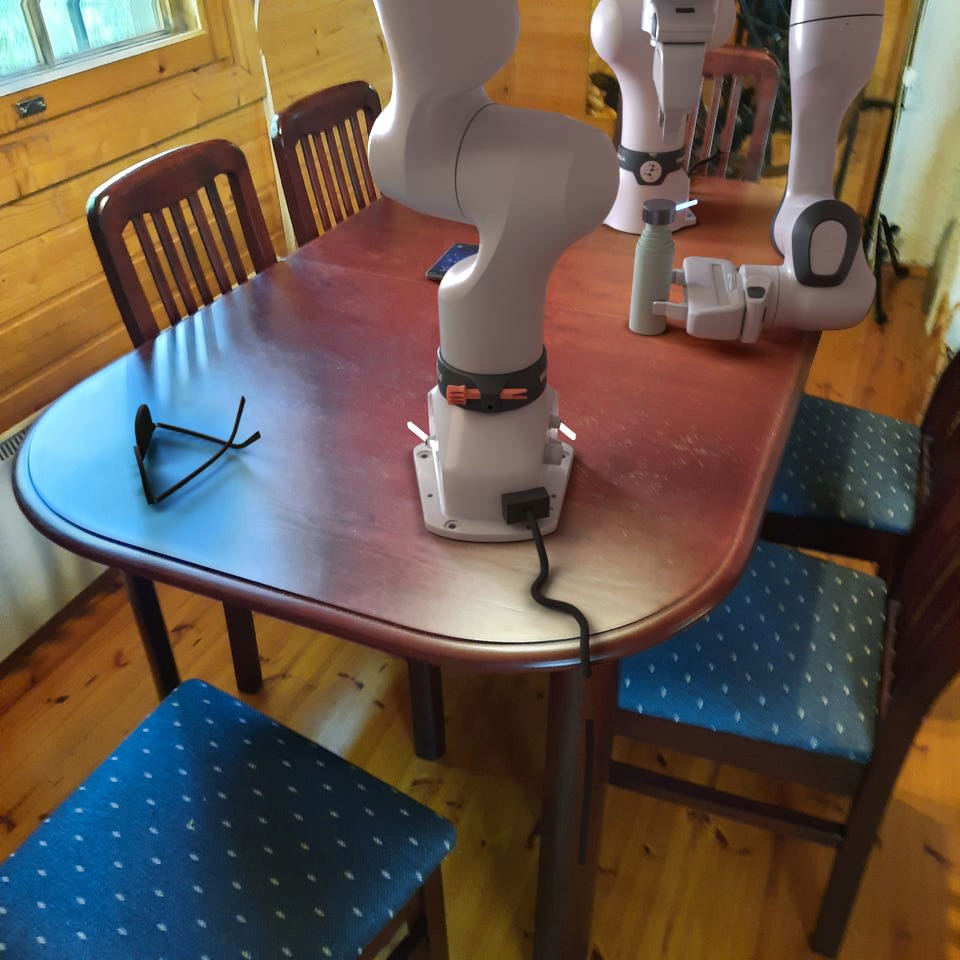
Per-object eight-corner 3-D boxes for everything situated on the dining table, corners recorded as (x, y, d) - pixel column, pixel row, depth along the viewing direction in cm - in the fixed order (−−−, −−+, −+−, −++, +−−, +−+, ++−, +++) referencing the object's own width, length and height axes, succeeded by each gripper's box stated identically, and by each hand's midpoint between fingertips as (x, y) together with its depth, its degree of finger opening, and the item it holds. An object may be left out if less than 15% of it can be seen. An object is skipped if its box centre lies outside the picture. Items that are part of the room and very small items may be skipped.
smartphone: (493, 246, 151) (464, 280, 139) (493, 251, 151) (464, 285, 140) (454, 241, 153) (422, 274, 141) (454, 246, 153) (423, 279, 142)
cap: (681, 218, 117) (683, 203, 116) (663, 228, 115) (665, 212, 113) (653, 211, 120) (654, 196, 118) (635, 220, 117) (636, 205, 116)
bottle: (672, 325, 127) (687, 205, 116) (652, 338, 124) (666, 216, 113) (641, 315, 130) (653, 197, 119) (621, 328, 127) (631, 208, 116)
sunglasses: (270, 486, 97) (262, 449, 94) (137, 510, 94) (125, 474, 91) (257, 411, 110) (250, 377, 107) (140, 430, 107) (130, 396, 104)
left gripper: (648, 0, 111) (638, 113, 119) (658, 28, 94) (646, 156, 103) (697, 0, 110) (684, 113, 118) (716, 28, 94) (699, 157, 102)
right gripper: (747, 247, 128) (653, 244, 130) (763, 306, 112) (655, 302, 114) (740, 286, 132) (649, 283, 134) (754, 349, 116) (651, 344, 117)
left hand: (666, 134), depth 110 cm, fingers open, 7 cm apart
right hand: (652, 292), depth 124 cm, fingers open, 8 cm apart
